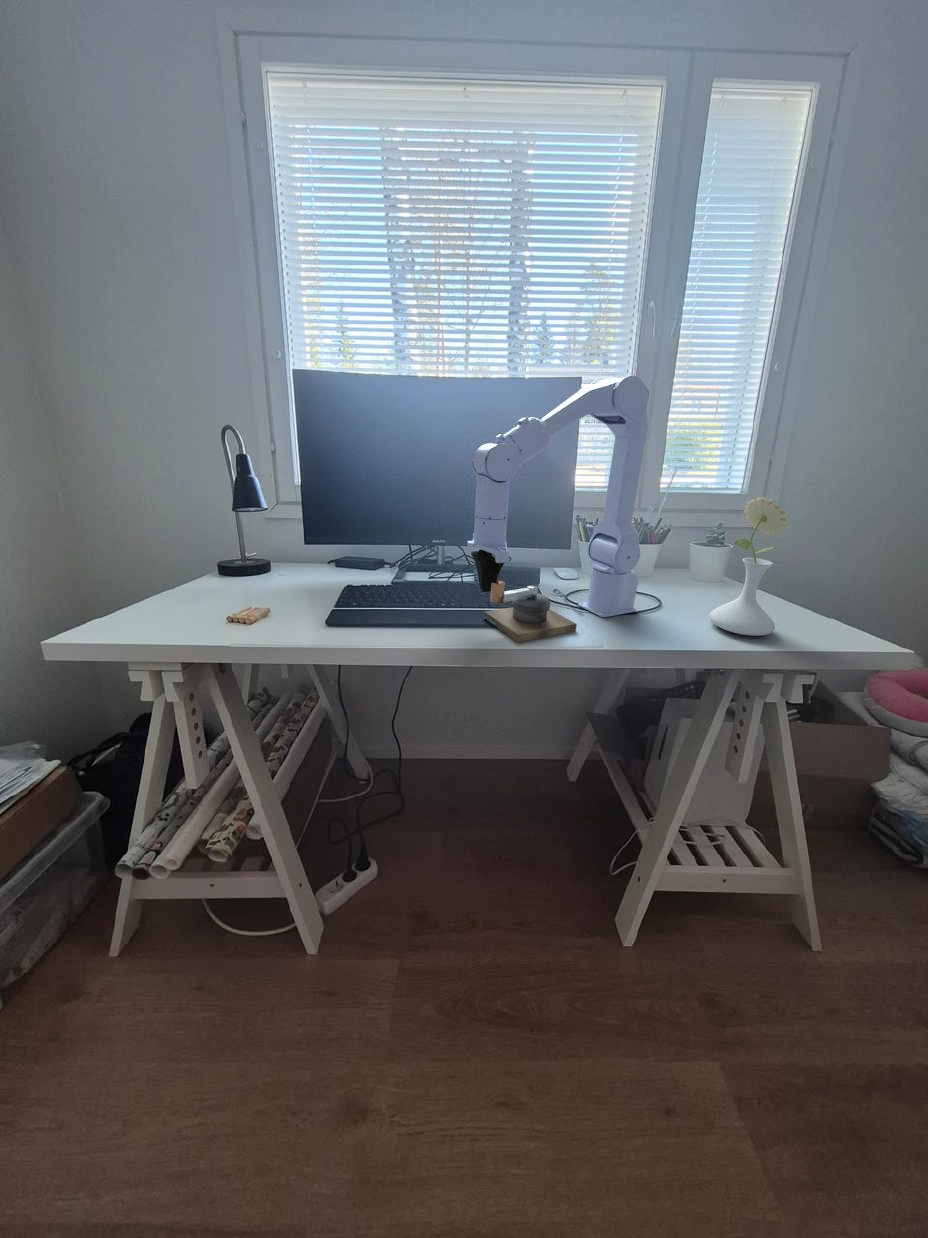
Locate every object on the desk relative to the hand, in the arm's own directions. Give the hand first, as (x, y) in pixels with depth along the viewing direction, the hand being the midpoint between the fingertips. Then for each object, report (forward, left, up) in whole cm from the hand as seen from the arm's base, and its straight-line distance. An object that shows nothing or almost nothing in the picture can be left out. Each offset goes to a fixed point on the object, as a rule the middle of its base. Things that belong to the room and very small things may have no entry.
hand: (486, 590), depth 87 cm
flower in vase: (-46, +21, -7) cm, 51 cm away
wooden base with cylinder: (-8, +4, -7) cm, 11 cm away
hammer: (-4, +4, -1) cm, 5 cm away
